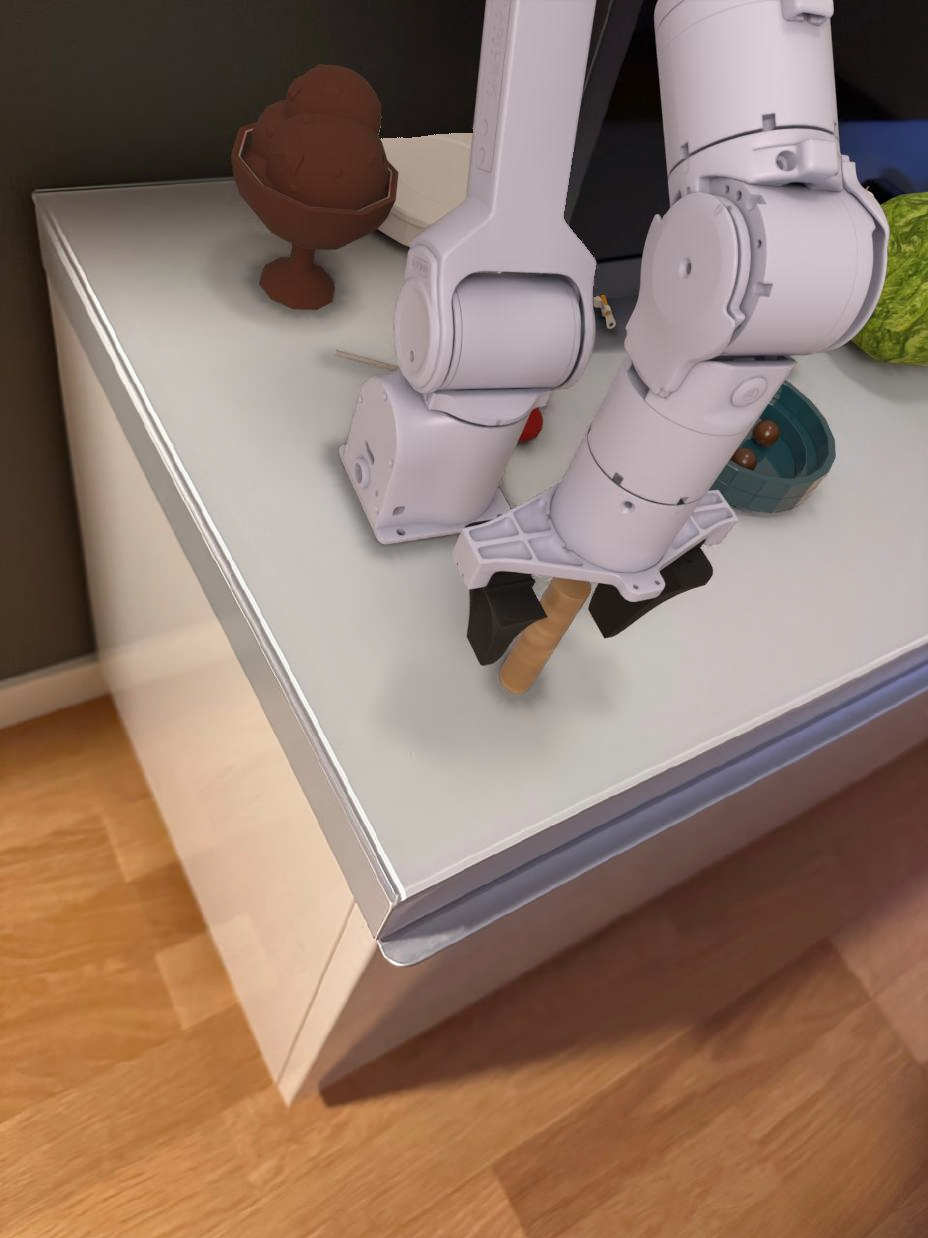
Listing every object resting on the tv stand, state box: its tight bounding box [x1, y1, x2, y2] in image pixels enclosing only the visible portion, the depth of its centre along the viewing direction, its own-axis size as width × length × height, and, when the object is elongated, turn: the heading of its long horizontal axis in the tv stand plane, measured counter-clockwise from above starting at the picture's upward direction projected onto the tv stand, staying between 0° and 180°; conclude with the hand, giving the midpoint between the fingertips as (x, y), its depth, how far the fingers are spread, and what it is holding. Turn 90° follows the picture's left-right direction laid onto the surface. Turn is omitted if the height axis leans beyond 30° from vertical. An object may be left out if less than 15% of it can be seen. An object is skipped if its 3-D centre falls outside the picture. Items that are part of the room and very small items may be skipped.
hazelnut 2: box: [752, 420, 780, 447], centre depth 72 cm, size 2×2×2 cm
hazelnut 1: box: [730, 448, 757, 471], centre depth 70 cm, size 2×2×2 cm
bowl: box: [708, 379, 837, 514], centre depth 71 cm, size 13×13×4 cm
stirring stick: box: [498, 577, 592, 694], centre depth 51 cm, size 2×2×9 cm
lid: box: [377, 133, 472, 248], centre depth 81 cm, size 17×20×3 cm
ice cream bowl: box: [230, 63, 399, 311], centre depth 64 cm, size 11×11×15 cm
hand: (542, 635), depth 51 cm, fingers open, 7 cm apart
